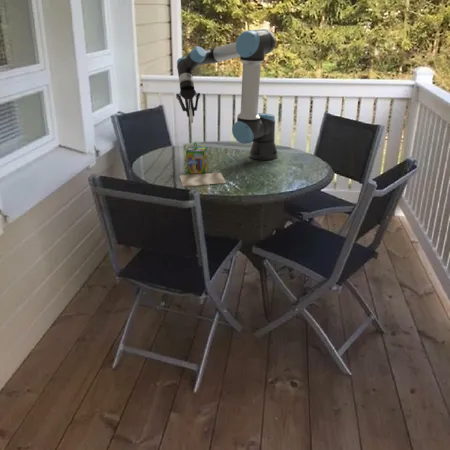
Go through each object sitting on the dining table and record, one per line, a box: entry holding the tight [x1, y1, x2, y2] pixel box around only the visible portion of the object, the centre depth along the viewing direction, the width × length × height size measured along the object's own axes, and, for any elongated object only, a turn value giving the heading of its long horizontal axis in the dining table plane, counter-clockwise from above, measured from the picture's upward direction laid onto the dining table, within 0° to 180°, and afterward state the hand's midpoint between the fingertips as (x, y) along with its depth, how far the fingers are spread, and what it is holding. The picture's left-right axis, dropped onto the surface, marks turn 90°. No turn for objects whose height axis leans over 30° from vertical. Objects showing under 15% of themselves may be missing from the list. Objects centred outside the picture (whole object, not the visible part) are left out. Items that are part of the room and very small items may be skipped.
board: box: [179, 172, 227, 188], centre depth 240 cm, size 20×16×1 cm
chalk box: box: [185, 141, 209, 175], centre depth 250 cm, size 9×9×15 cm
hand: (191, 121), depth 263 cm, fingers closed
